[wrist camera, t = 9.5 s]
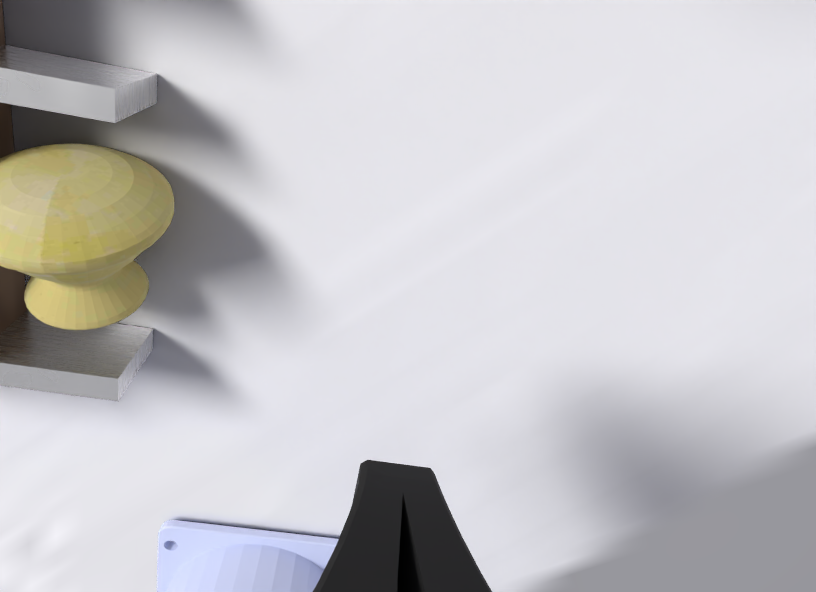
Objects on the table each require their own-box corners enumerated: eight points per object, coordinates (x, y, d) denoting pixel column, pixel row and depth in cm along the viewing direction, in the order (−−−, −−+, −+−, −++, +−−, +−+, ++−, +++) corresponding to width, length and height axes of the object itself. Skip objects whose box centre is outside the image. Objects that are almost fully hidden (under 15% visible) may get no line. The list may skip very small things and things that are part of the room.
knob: (13, 120, 18) (-113, 164, 13) (197, 152, 18) (136, 203, 14) (26, 269, 20) (-79, 351, 15) (192, 294, 20) (137, 379, 16)
